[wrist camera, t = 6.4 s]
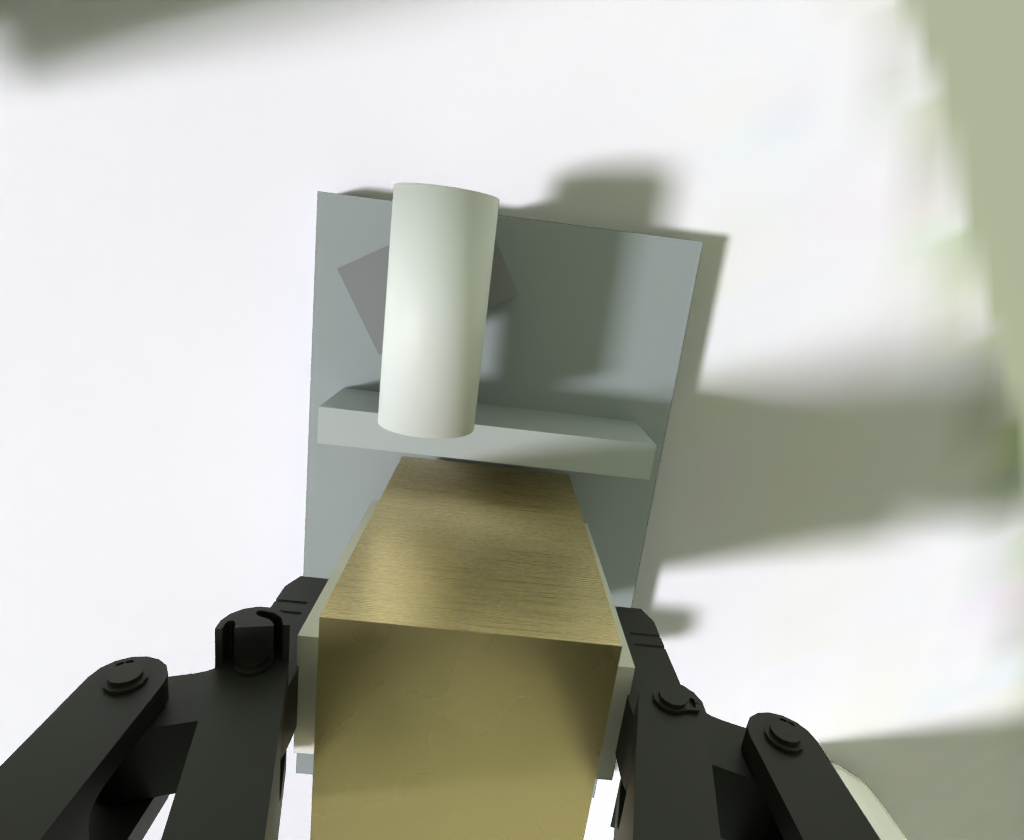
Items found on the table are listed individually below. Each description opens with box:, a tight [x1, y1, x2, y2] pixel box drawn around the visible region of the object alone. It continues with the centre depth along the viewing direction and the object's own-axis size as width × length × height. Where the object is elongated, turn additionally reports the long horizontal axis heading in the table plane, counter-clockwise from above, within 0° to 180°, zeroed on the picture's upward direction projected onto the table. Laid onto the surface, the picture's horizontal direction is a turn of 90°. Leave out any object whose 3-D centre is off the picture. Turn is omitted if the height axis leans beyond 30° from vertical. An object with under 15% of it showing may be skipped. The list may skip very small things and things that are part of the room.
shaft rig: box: [296, 183, 703, 798], centre depth 17 cm, size 20×11×5 cm, turn 173°
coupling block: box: [310, 456, 622, 840], centre depth 14 cm, size 5×5×8 cm
